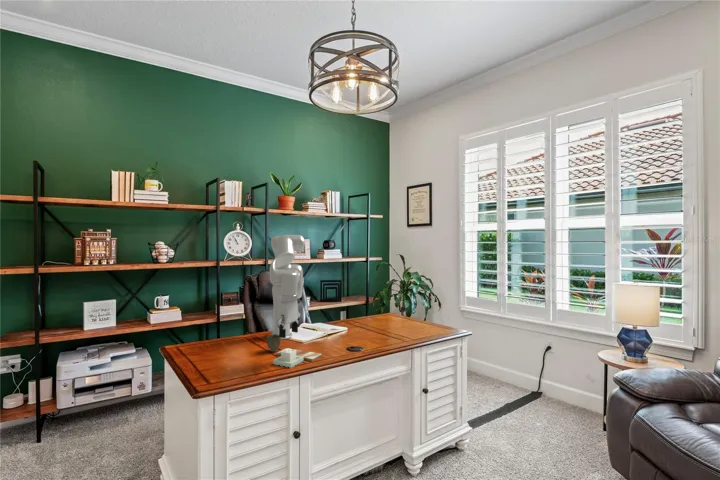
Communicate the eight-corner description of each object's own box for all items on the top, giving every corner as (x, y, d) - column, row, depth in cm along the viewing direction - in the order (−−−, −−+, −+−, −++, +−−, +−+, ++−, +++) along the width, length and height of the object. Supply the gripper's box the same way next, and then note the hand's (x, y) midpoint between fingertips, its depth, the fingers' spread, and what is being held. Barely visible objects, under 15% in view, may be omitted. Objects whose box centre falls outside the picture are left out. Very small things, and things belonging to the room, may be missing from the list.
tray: (273, 364, 170) (273, 360, 170) (286, 358, 179) (286, 354, 179) (291, 368, 166) (291, 363, 166) (303, 361, 175) (303, 357, 175)
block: (281, 362, 171) (281, 351, 171) (287, 359, 176) (287, 348, 176) (290, 364, 169) (290, 352, 169) (296, 360, 174) (296, 349, 174)
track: (276, 355, 183) (276, 352, 183) (287, 350, 192) (287, 347, 192) (312, 361, 175) (312, 359, 175) (322, 356, 183) (322, 353, 183)
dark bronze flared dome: (267, 349, 193) (267, 333, 193) (281, 348, 194) (282, 333, 194) (265, 353, 186) (265, 337, 185) (280, 353, 186) (280, 337, 186)
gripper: (293, 294, 182) (292, 329, 182) (270, 300, 166) (270, 338, 167) (306, 296, 179) (305, 331, 179) (284, 302, 163) (284, 340, 164)
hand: (288, 334), depth 173 cm, fingers open, 9 cm apart
